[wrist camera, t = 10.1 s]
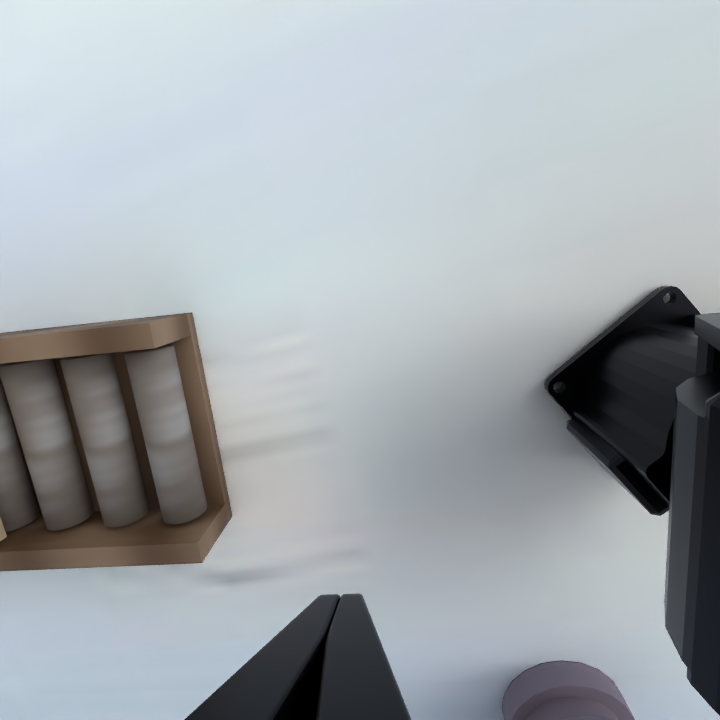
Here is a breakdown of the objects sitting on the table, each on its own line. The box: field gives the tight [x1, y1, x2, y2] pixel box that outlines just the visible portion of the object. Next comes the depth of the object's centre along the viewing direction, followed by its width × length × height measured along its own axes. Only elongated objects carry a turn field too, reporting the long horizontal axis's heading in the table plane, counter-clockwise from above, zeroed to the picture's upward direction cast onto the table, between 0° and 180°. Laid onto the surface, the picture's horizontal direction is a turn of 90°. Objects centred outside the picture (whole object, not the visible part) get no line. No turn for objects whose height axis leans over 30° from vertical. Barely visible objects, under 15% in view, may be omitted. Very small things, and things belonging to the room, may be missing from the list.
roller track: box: [0, 313, 232, 571], centre depth 19 cm, size 17×11×6 cm, turn 96°
